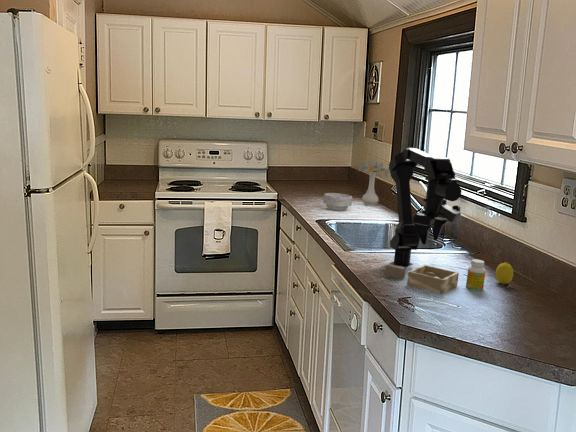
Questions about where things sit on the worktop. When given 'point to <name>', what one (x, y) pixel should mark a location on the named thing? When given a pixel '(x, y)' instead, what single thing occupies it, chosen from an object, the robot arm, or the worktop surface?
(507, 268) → the lemon
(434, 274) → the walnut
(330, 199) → the paper bowls
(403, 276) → the lid
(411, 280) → the box
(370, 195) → the flower vase
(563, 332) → the worktop surface
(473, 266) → the supplement bottle
